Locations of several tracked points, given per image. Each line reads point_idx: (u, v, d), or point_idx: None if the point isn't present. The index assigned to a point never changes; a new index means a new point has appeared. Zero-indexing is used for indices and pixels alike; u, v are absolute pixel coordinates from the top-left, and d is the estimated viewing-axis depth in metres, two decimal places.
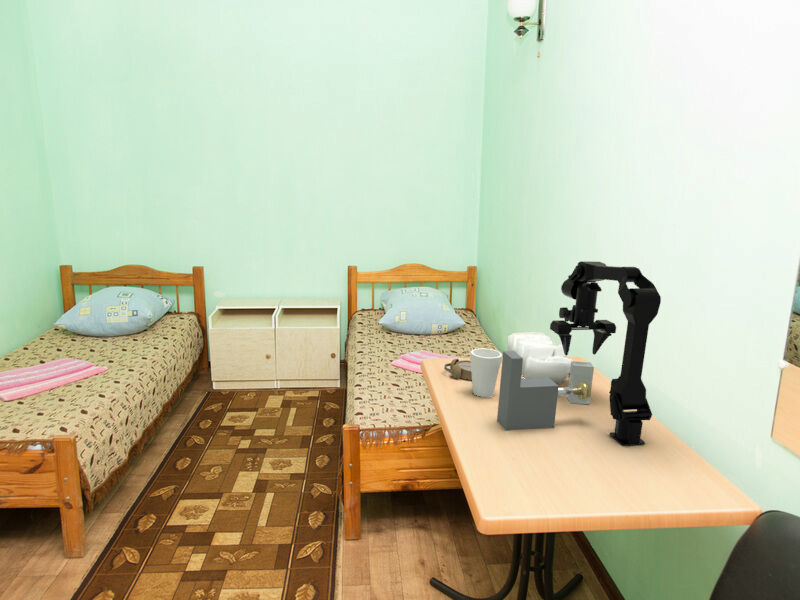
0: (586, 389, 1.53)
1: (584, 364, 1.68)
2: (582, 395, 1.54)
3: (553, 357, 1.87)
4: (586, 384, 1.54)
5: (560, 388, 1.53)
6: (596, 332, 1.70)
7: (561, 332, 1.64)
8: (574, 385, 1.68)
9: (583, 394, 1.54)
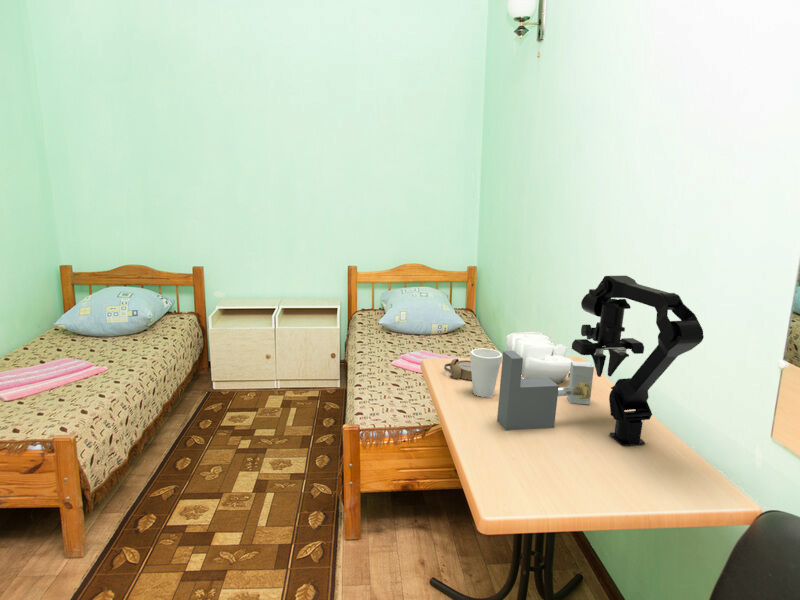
0: (586, 389, 1.53)
1: (584, 364, 1.68)
2: (582, 395, 1.54)
3: (552, 357, 1.87)
4: (586, 384, 1.54)
5: (560, 388, 1.53)
6: (612, 352, 1.56)
7: (585, 353, 1.49)
8: (574, 385, 1.68)
9: (583, 394, 1.54)
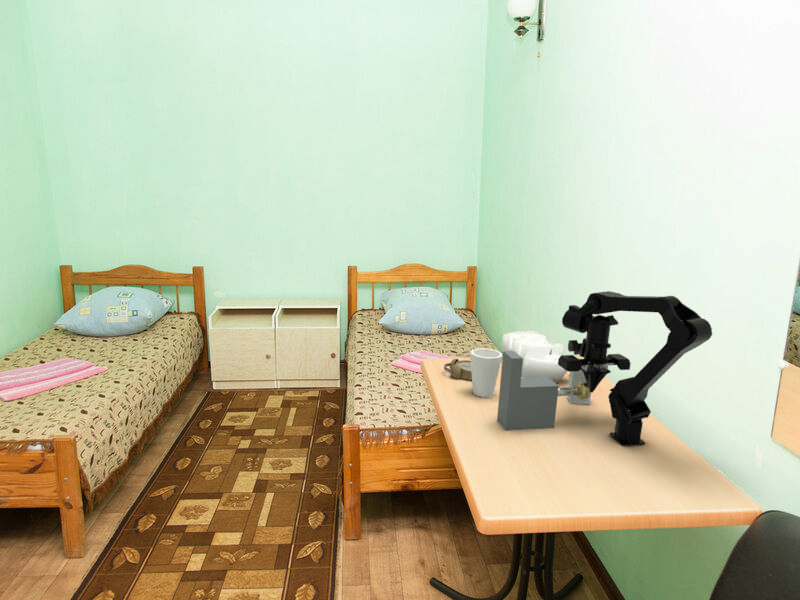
0: (585, 389, 1.53)
1: None
2: (581, 395, 1.54)
3: (550, 356, 1.88)
4: (585, 384, 1.54)
5: (559, 388, 1.53)
6: (594, 368, 1.56)
7: (570, 369, 1.50)
8: (574, 385, 1.68)
9: (581, 394, 1.54)
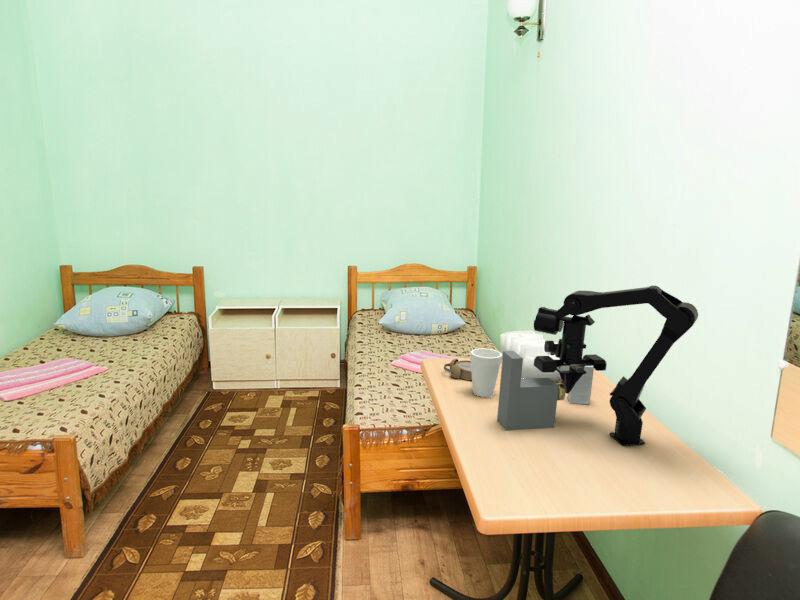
0: (560, 390, 1.52)
1: None
2: None
3: (549, 355, 1.88)
4: (560, 385, 1.53)
5: None
6: (570, 369, 1.54)
7: (545, 370, 1.48)
8: (574, 385, 1.68)
9: None
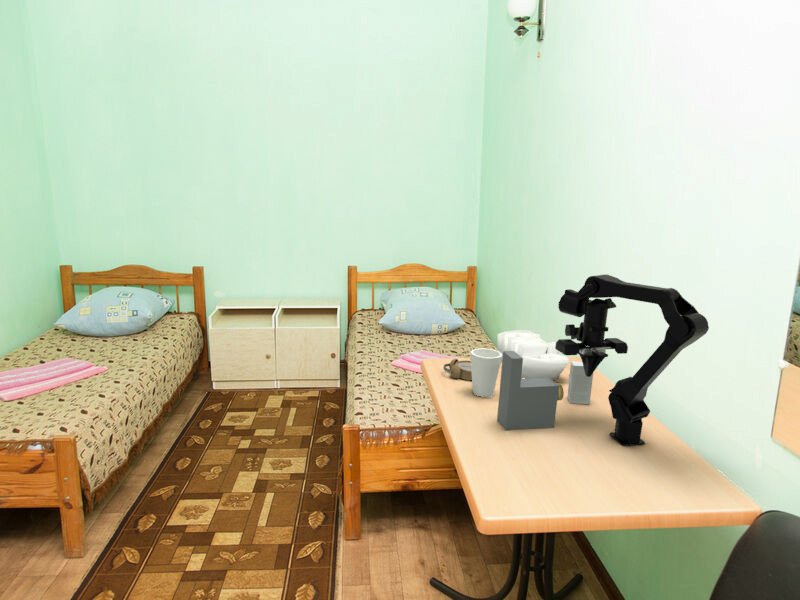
0: (559, 390, 1.52)
1: None
2: None
3: (547, 355, 1.89)
4: (559, 385, 1.53)
5: None
6: (591, 352, 1.55)
7: (568, 353, 1.49)
8: (574, 385, 1.68)
9: None
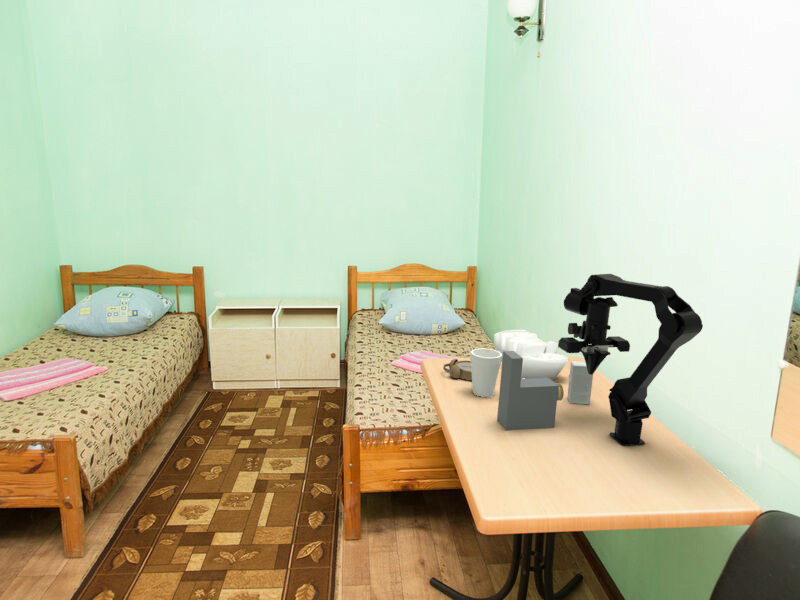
0: (559, 390, 1.52)
1: (584, 364, 1.68)
2: None
3: (545, 354, 1.90)
4: (559, 385, 1.53)
5: None
6: (594, 350, 1.57)
7: (570, 351, 1.51)
8: (574, 385, 1.68)
9: None
